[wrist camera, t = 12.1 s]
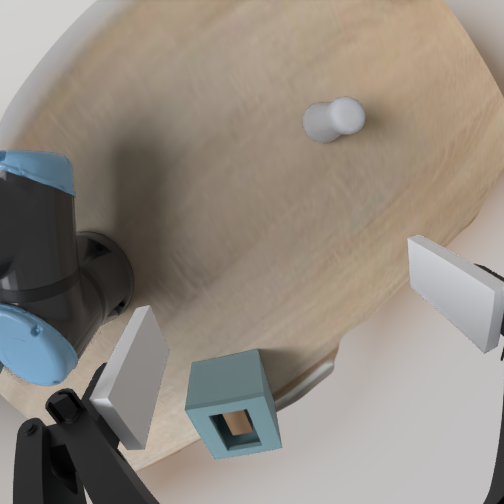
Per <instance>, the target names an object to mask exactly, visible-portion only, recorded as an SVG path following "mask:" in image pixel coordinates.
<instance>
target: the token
mask: <svg viewBox="0 0 504 504" xmlns="http://www.w3.org/2000/svg"><path fill="white" fill-rule="evenodd" d="M223 416H224V419H225V421H226V423H227V425H228V427H229V429H230V431H231V433H232V435H239V434H244V433H250V432H253V426H252V419H251V417H250V415H249V412H248V410H247V409H245V410H240V411H234V412H229V413H223Z"/></svg>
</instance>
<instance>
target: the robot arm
mask: <svg viewBox="0 0 504 504" xmlns="http://www.w3.org/2000/svg"><path fill="white" fill-rule="evenodd" d="M74 198H76V193H75V192H74V185H73V167H72V164H71V162H70V160H69V159H68V158H67V157H65V156H64V155H61V154H57V153H51V152H41V151H24V150H9V151H0V361H1V362H2V363H3V364H4V365H5V366H6V367H7V368H8V369H10V370H11V371H12V372H13V373H14V374H16V375H17V376H19V377H20V378H22V379H24V380H26V381H28V382H30V383H33V384H36V385H40V386H54V385H57V384H60V383H61V382H63V381H64V380H65V379H66V377H67V376H68V375H69V373H70V372H71V371H72V370H73V369H75V368H76V366H77V364H78V361H79V359H80V357H81V356H82V354H83V352H84V351H85V349H86V347H87V346H88V344H89V343H90V341H91V339H92V338H93V336H94V335H95V333H96V332H97V330H98V328H99V327H100V326H101V325H103V324H105V323H107V322H109V321H111V320H113V319H115V318H116V317H118V316H119V315H120V314H121V313H122V312H123V311H124V309H125V308H126V306H127V305H128V303H129V301H130V299H131V297H132V294H133V289H134V277H133V272H132V268H131V265H130V263H129V261H128V259H127V257H126V256H125V254H124V253H123V251H122V250H121V249H120V248H119V247H118V246H117V245H116V244H115V243H114V242H113V241H111V240H110V239H109V238H107V237H105V236H103V235H100V234H98V233H94V232H80V233H76V221H75V200H74ZM407 239H408V253H409V272H410V287H411V288H413V289H414V290H415V291H416V292H417V293H418V294H420V295H421V296H422V297H423V298H424V299H425V300H426V301H428V302H429V303H430V304H431V305H432V306H433V307H435V308H436V309H437V310H438V311H439V312H440V313H441V314H443V315H444V316H445V317H446V318H447V319H448V320H449V321H450V322H451V323H452V324H454V325H455V326H456V327H457V328H458V329H459V330H460V331H461V332H462V333H463V334H464V335H465V336H466V337H468V338H469V339H470V340H471V341H472V342H473V343H474V344H475V345H476V346H477V347H478V348H479V349H480V350H481V351H482V352H483V353H487V352H489V351H490V350H492V349H494V348H495V347H497V346H498V341H499V337H500V333H501V334H502V335H503V336H504V278H503V277H502V276H500V275H498V274H497V273H495V272H492V271H491V270H490V269H488V268H486V267H485V266H481V265H478V264H472V263H471V262H469V261H467V260H466V259H464V258H462V257H460V256H458V255H457V254H455V253H453V252H451V251H450V250H448V249H446V248H444V247H442V246H440V245H439V244H437V243H435V242H433V241H431V240H429V239H427V238H425V237H423V236H421V235H420V234H419V235H416V236H412V237H409V238H407ZM169 351H170V349H169V347H168V345H167V343H166V341H165V338H164V336H163V334H162V332H161V329H160V327H159V325H158V322H157V320H156V318H155V315H154V313H153V311H152V308H151V306H150V305H147V306H143V307H139V308H136V310H135V312H134V313H133V315H132V317H131V319H130V321H129V323H128V324H127V326H126V328H125V330H124V332H123V334H122V336H121V337H120V339H119V341H118V343H117V345H116V347H115V349H114V351H113V353H112V355H111V357H110V359H109V361H108V362H107V363H103V364H102V365H101V366H100V367H99V368H98V369H97V370H96V372H95V374H94V376H93V377H92V380H91V381H90V383H89V387H87V389H86V391H85V393H84V395H83V397H82V399H81V400H80V399H79V397H78V396H77V394H76V393H75V392H74V391H73V390H72V389H69V388H66V389H61V390H59V391H57V392H55V393H54V394H53V395H51V397H50V398H49V399H48V400H47V402H46V410H47V411H48V412H49V414H50V415H51V416H52V418H53V419H54V420H55V421H56V423H57V424H53V425H50V426H46V425H45V424H44V423H43V422H42V421H41V420H40V419H39V418H32V419H29V420H27V421H25V422H24V423H23V424H22V425H21V427H20V428H19V431H18V434H17V443H16V453H15V464H14V481H13V504H87V502H86V497H85V492H84V487H85V489H86V491H87V493H88V495H89V497H90V499H91V501H92V503H93V504H159V502H158V501H157V500H156V499H155V497H153V495H152V494H151V493H150V491H149V490H148V489H147V488H146V486H145V485H144V484H143V482H142V481H141V480H140V478H139V477H138V476H137V474H136V473H135V472H134V470H133V469H132V467H131V466H130V465H129V463H128V462H127V460H126V459H125V458H124V456H123V455H122V453H121V452H120V451H119V450H118V449H117V448H118V444H119V441H120V442H121V443H122V444H123V445H124V446H125V448H126V449H127V450H141V449H145V446H146V442H147V438H148V433H149V429H150V425H151V421H152V417H153V413H154V408H155V404H156V400H157V396H158V393H159V389H160V385H161V381H162V377H163V373H164V370H165V366H166V362H167V358H168V355H169ZM503 358H504V348H503V352H502V356H501V361H502V360H503ZM83 485H84V486H83ZM483 504H504V396H503V412H502V421H501V430H500V439H499V445H498V452H497V458H496V463H495V468H494V473H493V478H492V483H491V487H490V490H489V493H488V495H487V498H486V500H485V502H484V503H483Z"/></svg>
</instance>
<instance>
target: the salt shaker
mask: <svg viewBox="0 0 504 504" xmlns="http://www.w3.org/2000/svg"><path fill="white" fill-rule="evenodd" d="M302 119H303V128H304V130H305V132H306V134H307V135H308V136H309V137H310V138H312V139H313V140H314V141H317V142H321V143H328V142H332V141H334V140H335V139H336V138H338V137H339V136H340V135H341V134H345V135H349V134H354V133H356V132H358V131H359V130H360V129H361V128H363V126H364V123H365V121H366V112H365V110H364V108H363V106H362V104H361V103H359V102H358V101H357V100H356V99H354V98H350V97H340V98H337V99H335V100H334V101H333V102H332V103H324V102H321V103H316V104H313V105H311V106H310V107H309V108H308V109H306V111H305V114H304V116H303V118H302Z"/></svg>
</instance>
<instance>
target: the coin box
mask: <svg viewBox="0 0 504 504" xmlns="http://www.w3.org/2000/svg"><path fill="white" fill-rule="evenodd" d="M245 409H247V410H248V412H249V415H250V417H251V419H252V426H253V432H250V433H244V434H239V435H232V433H231V431H230V429H229V427H228V425H227V423H226V421H225V419H224V416H223V413H229V412H234V411H240V410H245ZM185 411H186V413H187V415H188V417H189V418H190V420H191V422H192V424H193V425H194V427H195V429H196V430H197V432H198V434H199V435H200V437H201V438H202V440H203V442H204V443H205V445H206V447H207V448H208V450H209V451H210V453H211V454H212V456H213V457H214V459H221V458H229V457H235V456H242V455H247V454H254V453H259V452H264V451H270V450H274V449H279V448H282V444H281V438H280V432H279V426H278V420H277V415H276V409H275V403H274V399H273V396H272V393H271V390H270V387H269V383H268V380H267V377H266V374H265V371H264V367H263V364H262V361H261V358H260V354H259V351H258V349H255V350H250V351H246V352H242V353H237V354H233V355H228V356H223V357H219V358H214V359H209V360H204V361H199V362H193V363H192V366H191V372H190V378H189V385H188V391H187V398H186V405H185Z"/></svg>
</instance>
